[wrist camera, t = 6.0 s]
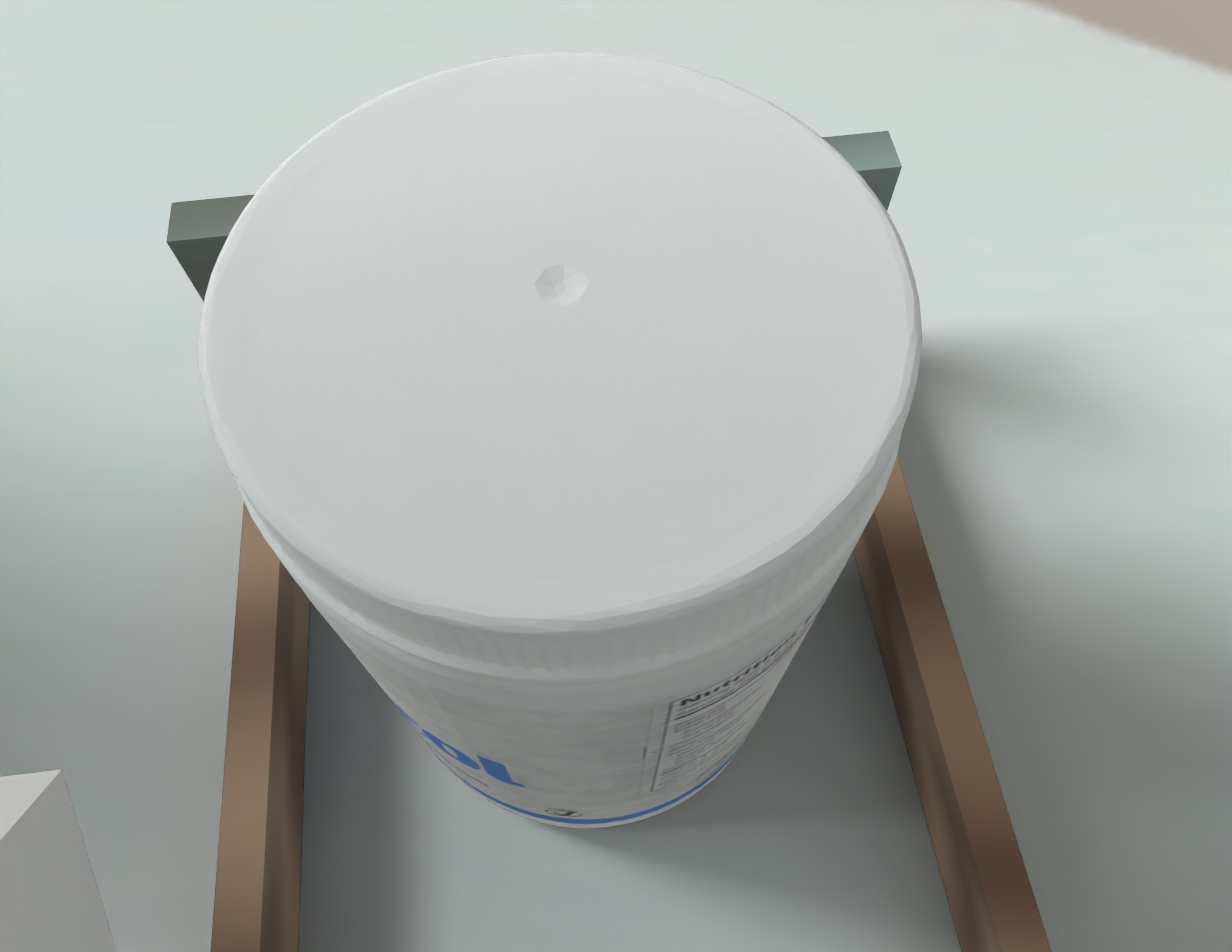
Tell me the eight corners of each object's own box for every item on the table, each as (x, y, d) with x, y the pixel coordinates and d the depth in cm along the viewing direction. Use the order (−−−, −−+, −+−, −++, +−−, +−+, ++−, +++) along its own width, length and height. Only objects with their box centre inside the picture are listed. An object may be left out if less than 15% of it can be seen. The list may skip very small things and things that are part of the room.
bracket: (1016, 985, 21) (1211, 984, 14) (245, 1097, 20) (38, 1157, 13) (827, 334, 30) (887, 131, 23) (284, 394, 29) (172, 202, 22)
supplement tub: (334, 674, 25) (5, 327, 12) (566, 429, 28) (511, -46, 15) (626, 928, 22) (619, 841, 9) (844, 619, 25) (1070, 228, 12)
